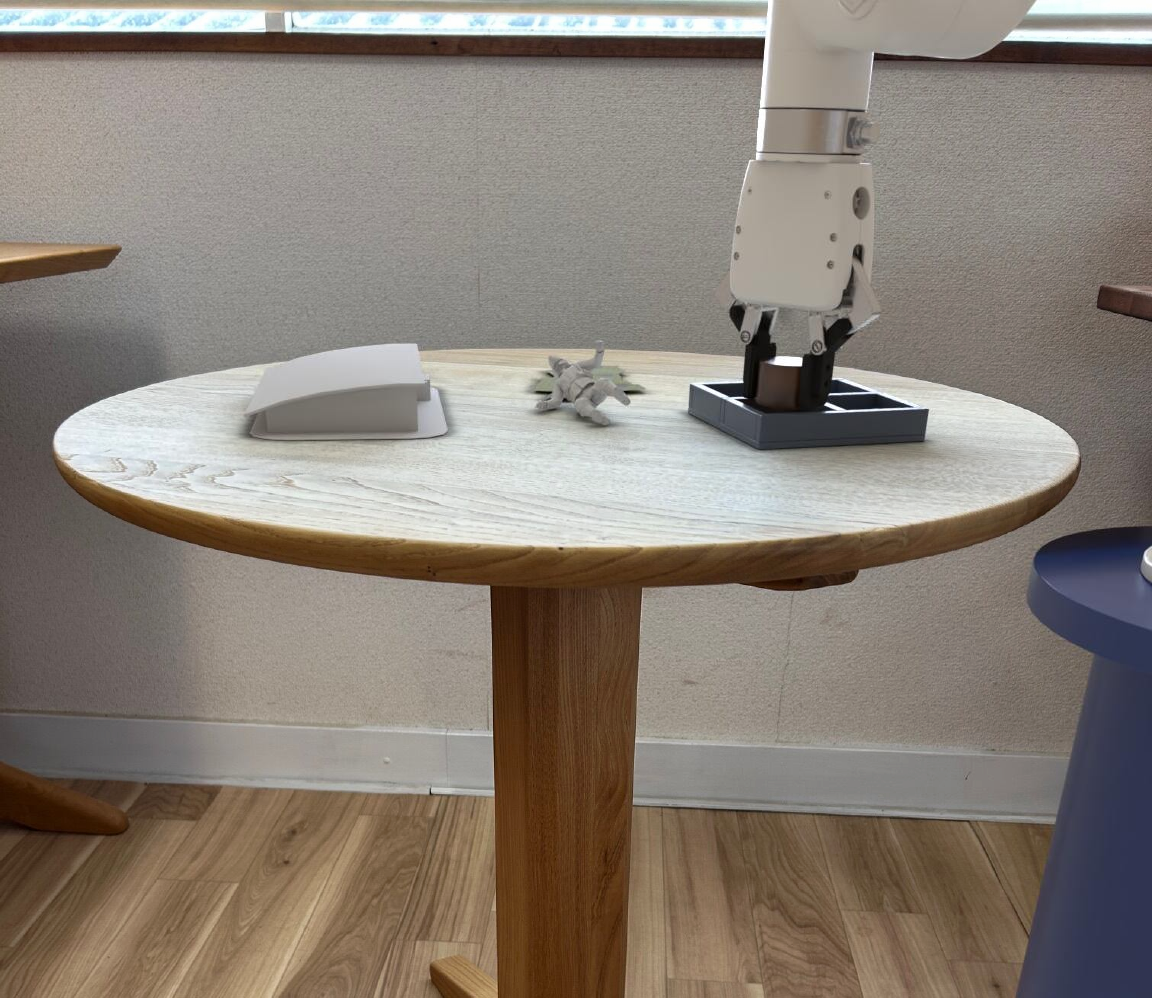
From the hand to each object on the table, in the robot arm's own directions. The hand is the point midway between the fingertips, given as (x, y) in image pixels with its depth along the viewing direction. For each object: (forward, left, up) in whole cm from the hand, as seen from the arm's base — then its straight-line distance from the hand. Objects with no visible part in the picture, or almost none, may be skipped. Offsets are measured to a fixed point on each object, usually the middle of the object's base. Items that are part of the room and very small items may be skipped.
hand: (784, 398), depth 96 cm
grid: (+3, -3, -3) cm, 6 cm away
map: (+25, +8, -3) cm, 27 cm away
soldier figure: (+12, +13, -3) cm, 18 cm away
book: (+17, +32, -3) cm, 36 cm away
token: (0, 0, 0) cm, 0 cm away
